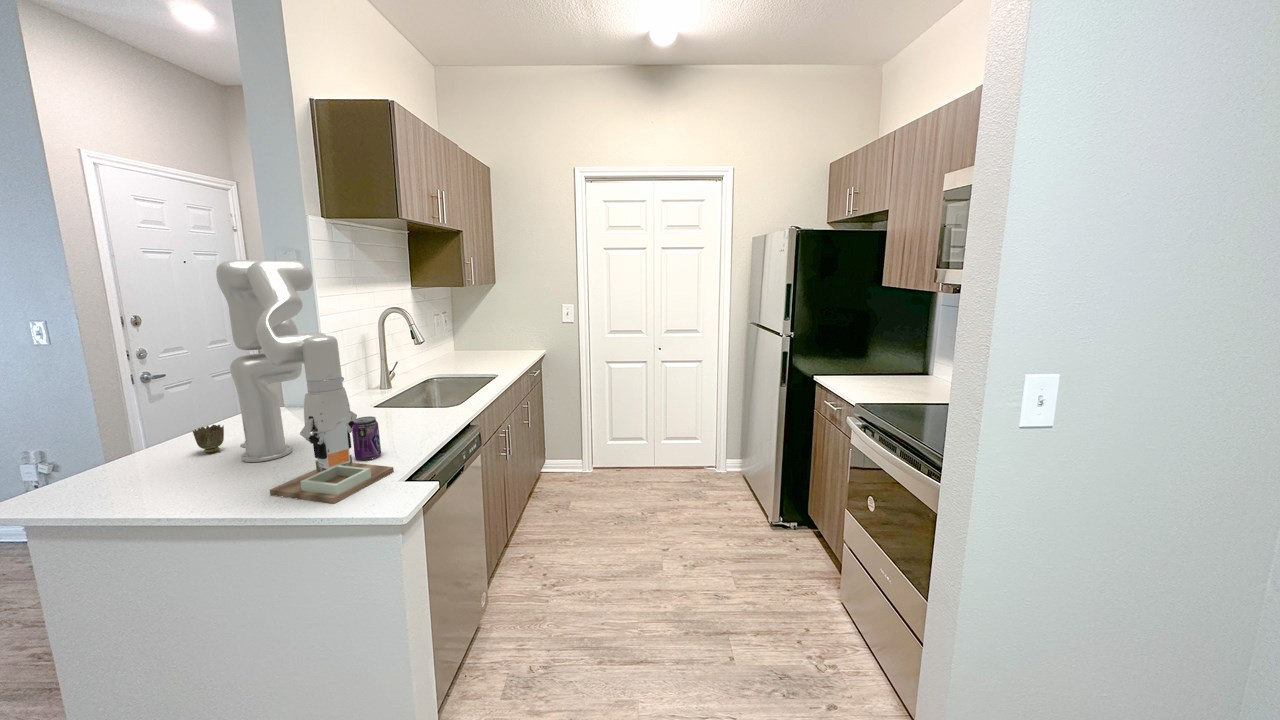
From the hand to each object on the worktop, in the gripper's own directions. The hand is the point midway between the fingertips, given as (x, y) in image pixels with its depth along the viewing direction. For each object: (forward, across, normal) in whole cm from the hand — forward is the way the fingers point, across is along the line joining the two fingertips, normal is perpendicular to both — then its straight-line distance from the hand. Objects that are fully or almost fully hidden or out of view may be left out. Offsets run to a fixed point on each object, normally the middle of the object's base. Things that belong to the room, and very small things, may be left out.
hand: (333, 452), depth 128 cm
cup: (+10, -13, -62) cm, 64 cm away
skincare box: (+3, 0, 0) cm, 3 cm away
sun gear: (+9, -8, -10) cm, 15 cm away
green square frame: (+9, 0, 0) cm, 9 cm away
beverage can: (+10, -21, -10) cm, 25 cm away
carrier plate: (+10, -3, -4) cm, 11 cm away
